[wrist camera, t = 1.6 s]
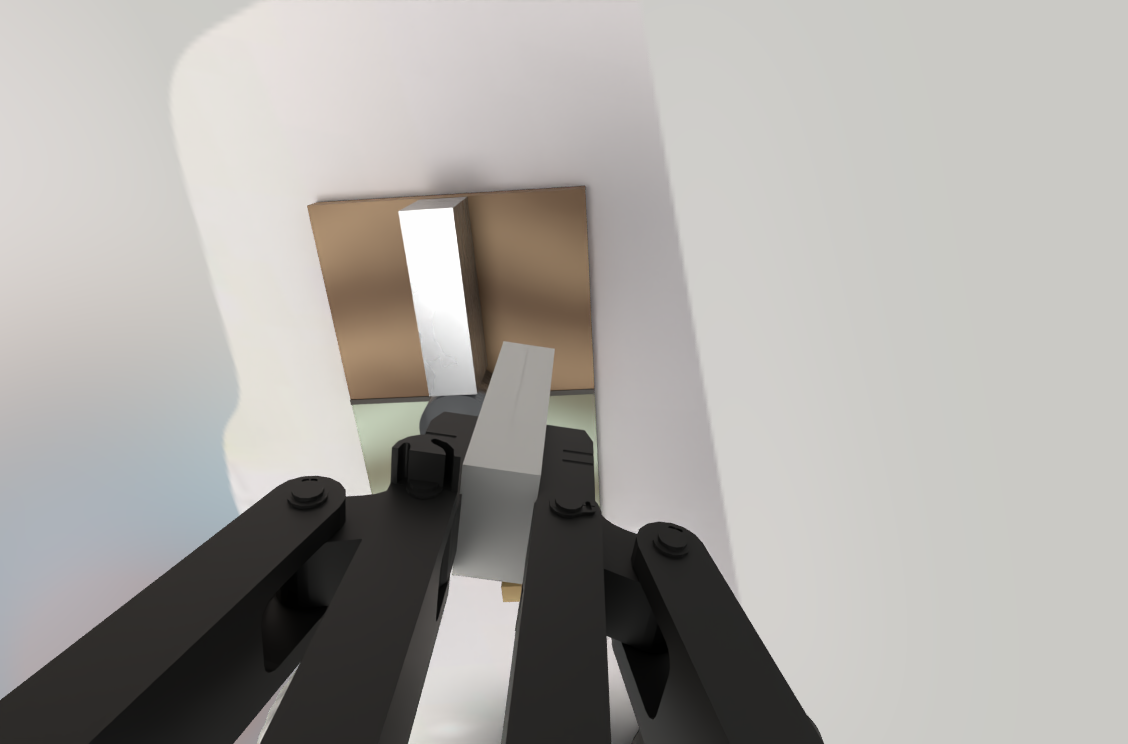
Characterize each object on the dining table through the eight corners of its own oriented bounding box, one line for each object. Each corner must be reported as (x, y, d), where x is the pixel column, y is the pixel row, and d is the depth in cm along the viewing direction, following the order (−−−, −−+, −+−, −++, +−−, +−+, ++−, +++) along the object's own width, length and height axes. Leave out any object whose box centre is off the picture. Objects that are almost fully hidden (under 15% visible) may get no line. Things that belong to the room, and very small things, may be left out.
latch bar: (509, 427, 35) (501, 462, 31) (441, 430, 35) (425, 465, 32) (483, 195, 30) (470, 206, 26) (403, 200, 30) (380, 212, 26)
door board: (602, 557, 40) (603, 599, 37) (395, 564, 41) (378, 605, 37) (585, 186, 31) (585, 195, 27) (316, 202, 31) (284, 213, 28)
